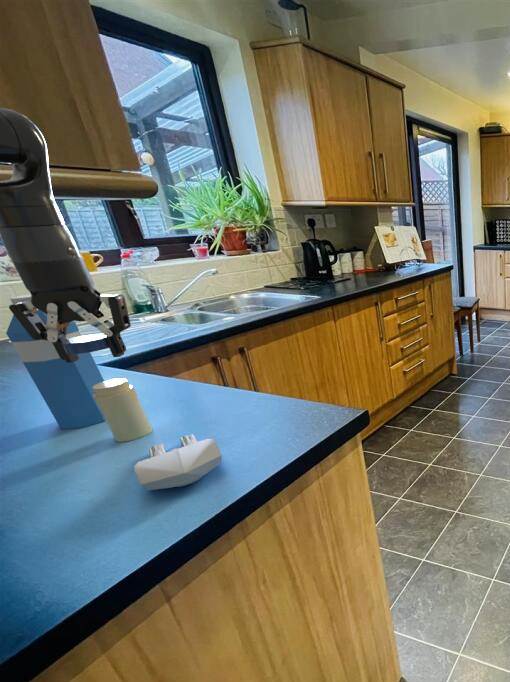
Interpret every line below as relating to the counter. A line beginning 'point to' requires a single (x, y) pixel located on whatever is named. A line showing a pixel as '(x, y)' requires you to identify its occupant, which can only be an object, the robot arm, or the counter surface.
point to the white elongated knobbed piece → (178, 463)
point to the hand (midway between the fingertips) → (96, 358)
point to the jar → (121, 409)
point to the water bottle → (59, 374)
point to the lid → (85, 344)
